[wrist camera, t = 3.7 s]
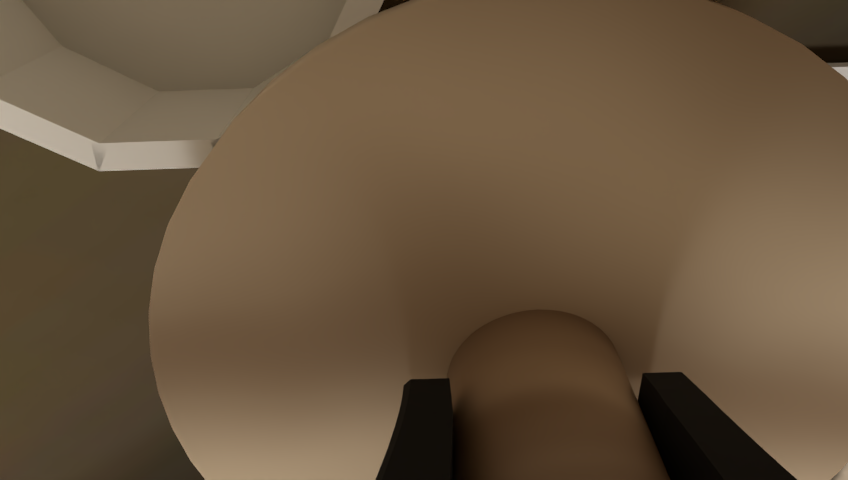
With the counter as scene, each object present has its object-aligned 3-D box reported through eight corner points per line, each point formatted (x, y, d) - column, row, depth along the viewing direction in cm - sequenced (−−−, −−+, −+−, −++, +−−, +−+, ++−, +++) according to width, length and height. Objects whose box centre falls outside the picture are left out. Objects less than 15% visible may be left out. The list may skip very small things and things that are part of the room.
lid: (794, 564, 15) (936, 824, 11) (232, 580, 15) (165, 847, 11) (1028, -43, 9) (1559, 36, 5) (70, -12, 9) (-223, 93, 5)
